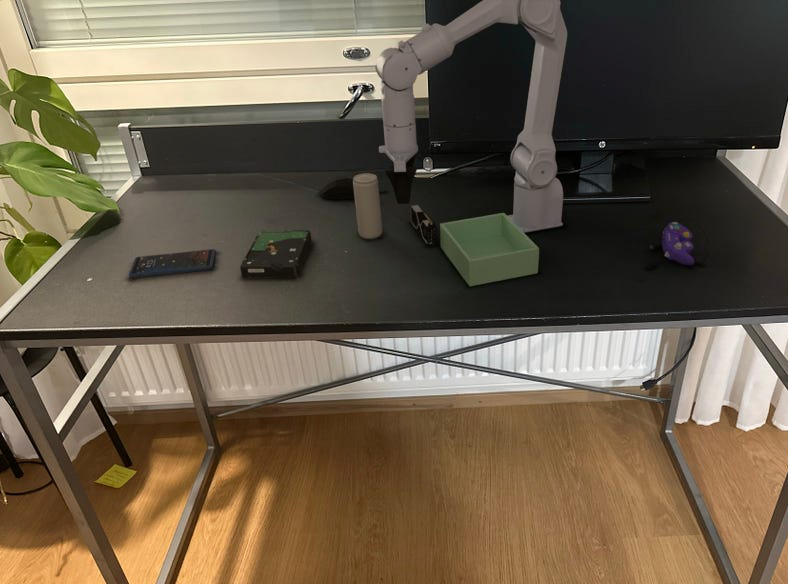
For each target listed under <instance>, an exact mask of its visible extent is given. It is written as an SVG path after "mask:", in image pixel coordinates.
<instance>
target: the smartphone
mask: <svg viewBox="0 0 788 584" xmlns="http://www.w3.org/2000/svg"><path fill="white" fill-rule="evenodd" d="M216 252H217V250H216V249H214V248H210V249H203V250H202V249H201V250H200V249H199V250H192V251H181V252H180V251H179V252H171V253H162V254H152V255H143V256H136V257H135V258H134V260H133V263H132V264H131V265H132V266H131V268H130V271H129V274H128V277H129V278H130V279H135V278H143V277H145V278H146V277H154V276H162V275H163V276H164V275H172V274H181V273H191V272H199V271H201V272H202V271H208V270H209V271H211V270H213V269H214V264H215V263H214V262H215V257H216Z"/></svg>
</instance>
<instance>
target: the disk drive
mask: <svg viewBox="0 0 788 584" xmlns="http://www.w3.org/2000/svg"><path fill="white" fill-rule="evenodd" d="M312 241H313V240H312V234H311V230H310V229H307V230H305V229H304V230H302V229H300V230H299V229H297V230H290V229H289V230H283V231H266V230H262V231H261V232H259V233H258V234H257V235H256V236H255V238H254V240H253V242H252V244H251V246H250V247H249V250H248V252H247V253H246V255H245V257H244V258H243V260H242V262H241V263H240V266H239V269H240V273H241V277H242V278H243V279H244V278H247V279H275V278H276V279H289V278H297V277H298V276H299V273H300V271H301V269H302V267H303V264H304V261H305V258H306V256H307V255H308V252H309V249H310V246H311V245H312Z"/></svg>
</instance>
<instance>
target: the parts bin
mask: <svg viewBox="0 0 788 584" xmlns="http://www.w3.org/2000/svg"><path fill="white" fill-rule="evenodd" d="M439 234H440V235H439V236H440V240H439V241H440V248H441V250H442V251H443V253H445V255H446V257H447V258H448V259H449V261H450V262H451V263H452V264H453V266H454V267H455V268H456V270H457V271H458V273H459V274H460V276H461V277H462V278H463V280H464V281H465V282H466V283H467V285H468V286H469V287H474V286H475V287H476V286H480V285H484V284H489V283H490V284H491V283H494V282H499V281H505V280H511V279H515V278H519V277H527V276H531V275H535V274H538V273H539V260H540V247H538V245H536V244H535V243H534V242H533V240H532V239H530V237H529V236H528V235H526V233H523V232H522V231H521V229H520V228H519V227H518V226H517V225H516V224H515V223H514V222H513V221H512V220H511V219H510V218H509V217H508V215H507V214H506V213H505V212H501V213H494V214H489V215H483V216H477V217H471V218H466V219H465V218H464V219H459V220H453V221H448V222H441V223H439Z"/></svg>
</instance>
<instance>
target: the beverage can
mask: <svg viewBox="0 0 788 584" xmlns="http://www.w3.org/2000/svg"><path fill="white" fill-rule="evenodd" d="M352 178H353V187H354V196H355V198H354V205H355V213H356V222H357V230H358V235H359V236H360V237H361V238H363V239H365V240H375V239H377V238H379V237H381V235H382V234H383V220H382V211H381V209H382V208H381V199H380V192H379V191H380V188H379V180H378V176H377V175H376V174H374V173H369V172H368V173H367V172H365V173H359V174H356V175H354V176H353V177H352Z"/></svg>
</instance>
